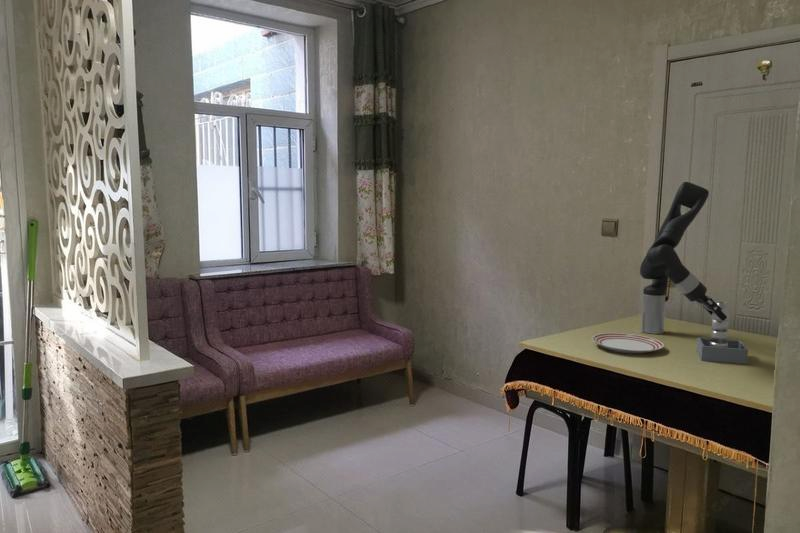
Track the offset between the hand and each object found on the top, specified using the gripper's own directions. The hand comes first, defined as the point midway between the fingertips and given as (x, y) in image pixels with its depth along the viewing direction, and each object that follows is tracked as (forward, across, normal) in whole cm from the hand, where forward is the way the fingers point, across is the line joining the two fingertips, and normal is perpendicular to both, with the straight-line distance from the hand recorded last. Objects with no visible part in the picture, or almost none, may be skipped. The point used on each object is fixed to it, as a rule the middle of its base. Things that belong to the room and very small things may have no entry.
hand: (719, 316), depth 227 cm
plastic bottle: (+11, +1, +10) cm, 15 cm away
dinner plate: (-10, +12, +33) cm, 36 cm away
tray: (+12, 0, +10) cm, 16 cm away
